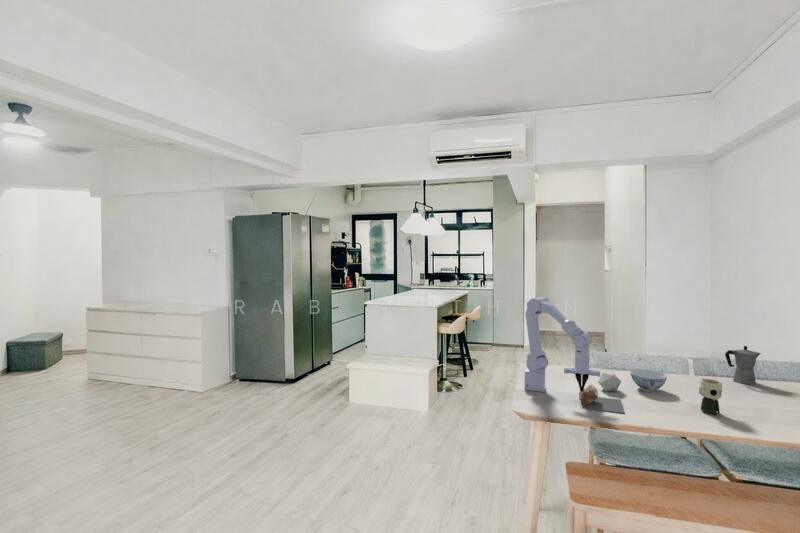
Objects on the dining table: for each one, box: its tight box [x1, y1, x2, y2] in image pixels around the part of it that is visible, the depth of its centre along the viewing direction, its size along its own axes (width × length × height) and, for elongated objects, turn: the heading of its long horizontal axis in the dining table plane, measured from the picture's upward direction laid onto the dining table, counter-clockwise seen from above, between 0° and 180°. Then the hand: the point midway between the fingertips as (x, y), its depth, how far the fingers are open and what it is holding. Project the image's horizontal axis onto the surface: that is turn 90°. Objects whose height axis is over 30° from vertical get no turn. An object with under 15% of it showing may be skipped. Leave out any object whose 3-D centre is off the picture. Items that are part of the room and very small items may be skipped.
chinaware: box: [629, 368, 668, 393], centre depth 202 cm, size 15×15×8 cm
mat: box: [586, 396, 625, 415], centre depth 184 cm, size 14×16×1 cm
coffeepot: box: [724, 345, 761, 386], centre depth 212 cm, size 15×9×18 cm, turn 79°
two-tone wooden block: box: [578, 384, 600, 407], centre depth 186 cm, size 4×9×7 cm
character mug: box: [698, 378, 723, 415], centre depth 174 cm, size 11×7×13 cm, turn 101°
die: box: [597, 372, 622, 392], centre depth 202 cm, size 8×9×10 cm
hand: (581, 390), depth 187 cm, fingers closed
